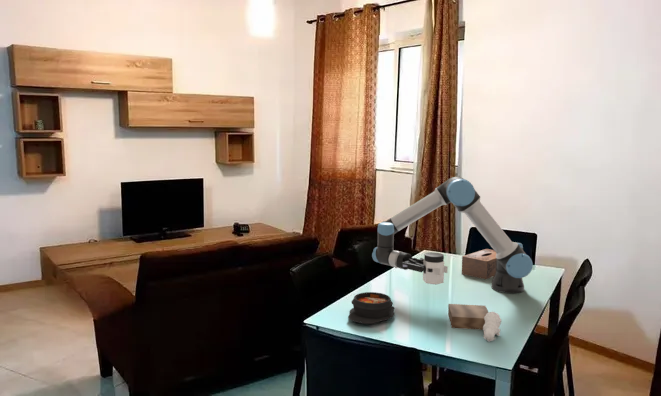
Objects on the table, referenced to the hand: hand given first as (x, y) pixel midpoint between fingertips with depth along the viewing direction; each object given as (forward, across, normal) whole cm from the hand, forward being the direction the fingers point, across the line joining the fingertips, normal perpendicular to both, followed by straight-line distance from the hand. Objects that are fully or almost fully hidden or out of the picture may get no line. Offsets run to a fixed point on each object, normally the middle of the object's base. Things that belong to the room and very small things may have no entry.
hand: (443, 270), depth 215 cm
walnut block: (+14, +2, -18) cm, 23 cm away
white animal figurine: (+28, +9, -18) cm, 35 cm away
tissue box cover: (-21, -69, -18) cm, 74 cm away
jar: (-5, 0, -6) cm, 8 cm away
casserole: (-15, +28, -18) cm, 36 cm away
